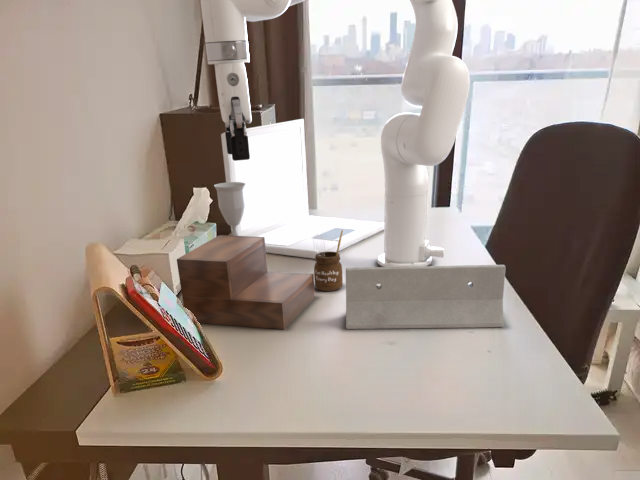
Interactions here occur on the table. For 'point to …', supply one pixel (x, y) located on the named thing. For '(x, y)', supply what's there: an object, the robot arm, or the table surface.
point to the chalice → (231, 202)
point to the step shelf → (241, 285)
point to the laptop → (286, 195)
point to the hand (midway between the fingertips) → (238, 156)
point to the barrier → (425, 297)
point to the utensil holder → (328, 269)
